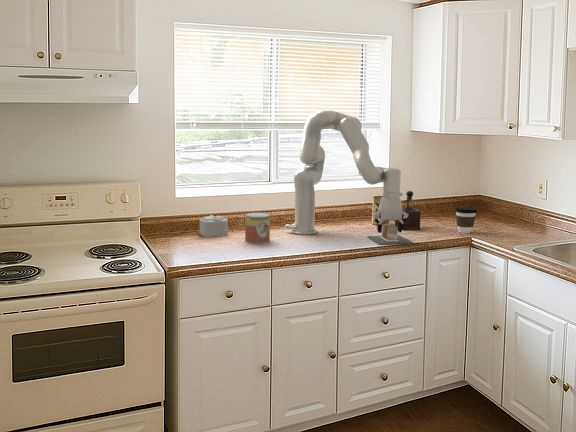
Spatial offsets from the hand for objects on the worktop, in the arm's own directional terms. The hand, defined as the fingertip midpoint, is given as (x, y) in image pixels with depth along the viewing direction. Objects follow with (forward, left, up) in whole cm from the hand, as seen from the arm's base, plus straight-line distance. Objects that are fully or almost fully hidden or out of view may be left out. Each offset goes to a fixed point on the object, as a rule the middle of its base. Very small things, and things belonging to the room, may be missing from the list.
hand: (389, 232), depth 300 cm
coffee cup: (+45, +13, -4) cm, 47 cm away
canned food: (-60, +10, -4) cm, 61 cm away
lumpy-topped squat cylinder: (-77, +28, -4) cm, 82 cm away
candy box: (+11, +40, -4) cm, 42 cm away
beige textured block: (0, 0, -3) cm, 3 cm away
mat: (0, 0, -4) cm, 4 cm away
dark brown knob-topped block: (+21, +30, -4) cm, 37 cm away
